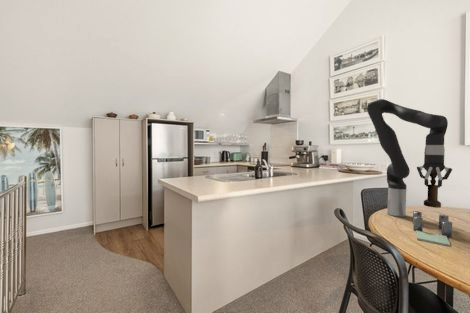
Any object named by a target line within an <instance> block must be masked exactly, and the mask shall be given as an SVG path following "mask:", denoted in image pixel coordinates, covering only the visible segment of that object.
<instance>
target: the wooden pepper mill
mask: <svg viewBox="0 0 470 313" xmlns="http://www.w3.org/2000/svg"><path fill="white" fill-rule="evenodd" d="M429 177H430V180H429V182H430V184H428V187H427V199H425V200H423V206H425V207H429V208H435V209H436V208H438V209H440V208H441V207H442V202H440V201H439V199H438V198H439V195H438V194H439V188H438V184H436V183H437V180H436V178H438V175H437V174H436V173H430V175H429Z"/></svg>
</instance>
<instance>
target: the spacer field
mask: <svg viewBox="0 0 470 313" xmlns="http://www.w3.org/2000/svg"><path fill="white" fill-rule="evenodd" d="M412 212H413V214H412V224H413V227H412V228H413V231H414V232H416V230H417V231H422V232H424V231H423V229H424V228H423V227H424V226H423V225H424V224H423V223H424V218H423V217H422V214H423V212H421V211H418V210H413V211H412ZM449 217H450V216H449V215H446V214H439V215H438V229H440V230H441V233H440V235H444V236H447V238H448V239H449V238H452V237H453V222H452V221H449Z"/></svg>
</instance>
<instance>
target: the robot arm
mask: <svg viewBox="0 0 470 313" xmlns="http://www.w3.org/2000/svg"><path fill="white" fill-rule="evenodd" d="M366 112H367V113H368V116H369V118H370V120H371V123H372V124H373V127H374V129H375V132H376V134H377V138H378V141H379V144H380V147H381V148H382V149H383V151H384V152H385V153H386V155H387V156H388V158H389V159H390V162H391V163H390V164H389V165H388V166H387V168H386V183H387V185H388V189H387V214H386V215H390V216H393V217H397V218H398V217H399V218H402V217H406V215H407V213H406V212H407V183H405V181H404V179H406V178H408V177H409V175H410V171H411V170H410V167H409V165H408V163H407V160H406V159H405V156H404V154H403V152H402V148H401V146H400V143H399V140H398V137H397V134H396V132H395V130H394V129H393V128H392V127H391V126H390V125H389V124H388V123H386V121H385V118H384V116H383V114H391V115H394V116H396V117H397V118H399V119H400V120H401V121H404V122H407V123H411V124H415V125H419V126H420V127H424V128H427V129H429V133H428V134H426V136H425V146H424V152H423V153H424V160H423V165H422V166H416V170H417V172H418V175H419V177H420V178H421V179H424V186H425V187H427V188H428V185H429V177H430V173H436V174H437V178H438V180H437V185H438V189H439V188H441V187H443V181H444V180H448V179H449V177H450V174H451V172H452V171H453V169H452V168H451V167H446V164H445V153H446V152H445V151H446V150H445V137H446V132H447V129H448V123H449V122H448V119H447V117H446V116H444V115H439V114H432V113H428V112H424V111H422V110H418V109H413V108H410V107H405V106H402V105H400V104H396V103H395V102H391V101H390V100H386V99H383V98H380V99H376V100H374V101H373V100H372V101H371V102H369V103H367V106H366ZM423 169H424V170H425V171H426V172H425V175H423V172H422V171H423ZM443 170H445V174H444V175H443V176H442V173H441V172H443Z"/></svg>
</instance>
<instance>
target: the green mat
mask: <svg viewBox="0 0 470 313" xmlns="http://www.w3.org/2000/svg"><path fill="white" fill-rule="evenodd" d="M415 233H416V240H417V241H422V242H426V243H431V244H436V245H442V246H447V247H451V244H450V241H449V238H448V237H447V236H444V235H441V234H438V233H437V234H436V233H432V232H426V231H423V232H422V231H417V230H416V231H415Z"/></svg>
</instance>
